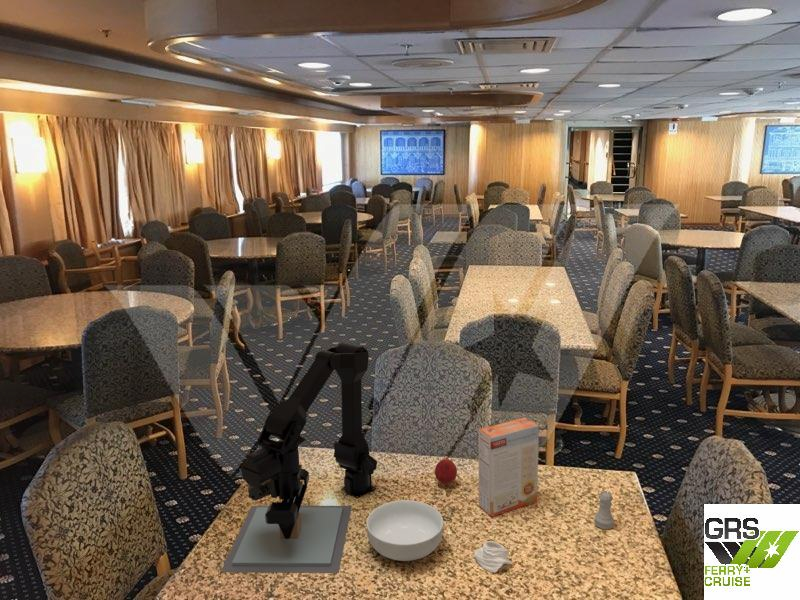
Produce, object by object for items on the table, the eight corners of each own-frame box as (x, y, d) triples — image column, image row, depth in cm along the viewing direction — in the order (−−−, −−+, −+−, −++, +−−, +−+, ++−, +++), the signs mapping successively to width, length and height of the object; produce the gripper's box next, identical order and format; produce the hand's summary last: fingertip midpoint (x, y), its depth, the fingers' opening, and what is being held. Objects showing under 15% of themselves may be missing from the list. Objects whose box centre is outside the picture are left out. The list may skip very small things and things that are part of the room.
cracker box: (523, 491, 161) (525, 415, 156) (538, 503, 155) (540, 425, 150) (476, 505, 155) (477, 427, 150) (490, 518, 149) (491, 437, 144)
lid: (257, 510, 154) (256, 492, 153) (342, 510, 153) (341, 492, 152) (232, 566, 133) (230, 546, 132) (330, 566, 133) (329, 546, 131)
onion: (455, 491, 161) (455, 463, 159) (433, 489, 162) (433, 461, 160) (458, 479, 167) (458, 452, 165) (436, 478, 168) (436, 450, 166)
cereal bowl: (387, 583, 128) (386, 553, 126) (355, 540, 142) (354, 512, 141) (458, 557, 135) (458, 528, 134) (420, 518, 150) (420, 492, 148)
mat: (251, 507, 156) (251, 505, 156) (351, 507, 155) (351, 505, 155) (220, 574, 132) (220, 572, 131) (338, 574, 131) (338, 572, 131)
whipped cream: (468, 564, 135) (466, 545, 133) (487, 547, 139) (485, 528, 138) (499, 579, 129) (497, 559, 128) (517, 561, 134) (515, 541, 132)
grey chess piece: (615, 521, 147) (617, 491, 145) (612, 532, 143) (614, 500, 141) (595, 517, 149) (597, 487, 147) (592, 527, 145) (594, 496, 143)
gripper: (260, 446, 148) (265, 505, 152) (238, 488, 130) (244, 554, 134) (307, 446, 148) (311, 505, 152) (291, 488, 130) (296, 554, 133)
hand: (290, 528), depth 143 cm, fingers open, 7 cm apart
